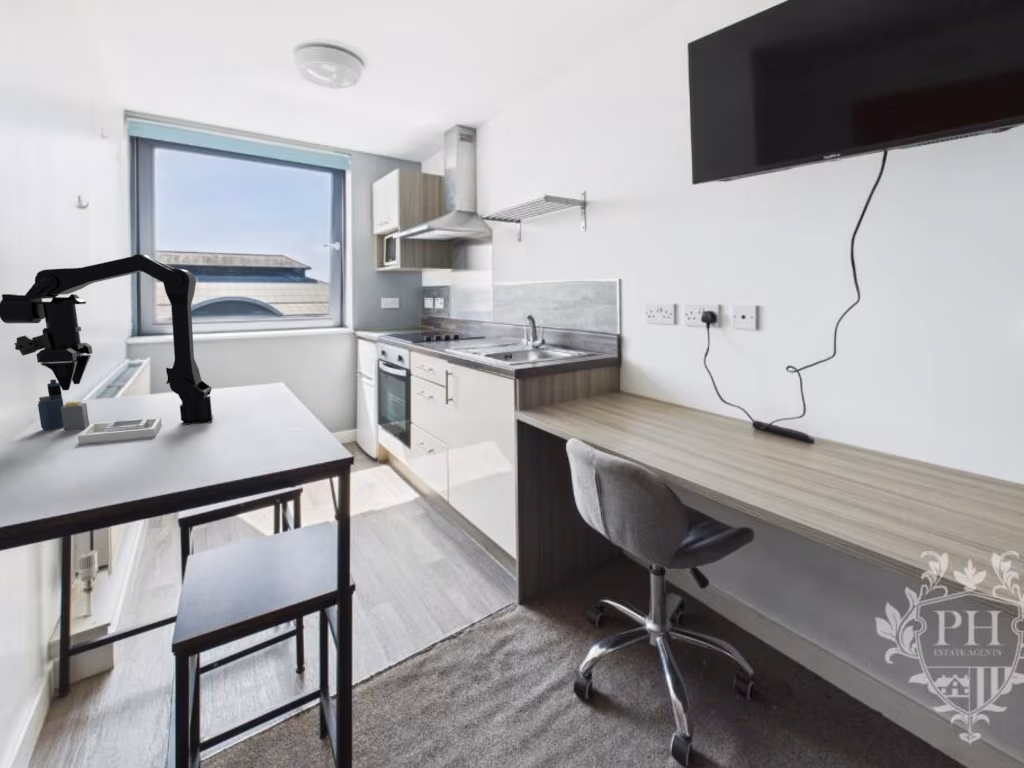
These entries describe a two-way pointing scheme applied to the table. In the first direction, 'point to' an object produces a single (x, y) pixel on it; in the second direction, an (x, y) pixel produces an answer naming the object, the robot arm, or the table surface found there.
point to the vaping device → (51, 407)
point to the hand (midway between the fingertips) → (71, 387)
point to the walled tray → (97, 432)
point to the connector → (75, 416)
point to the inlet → (127, 425)
